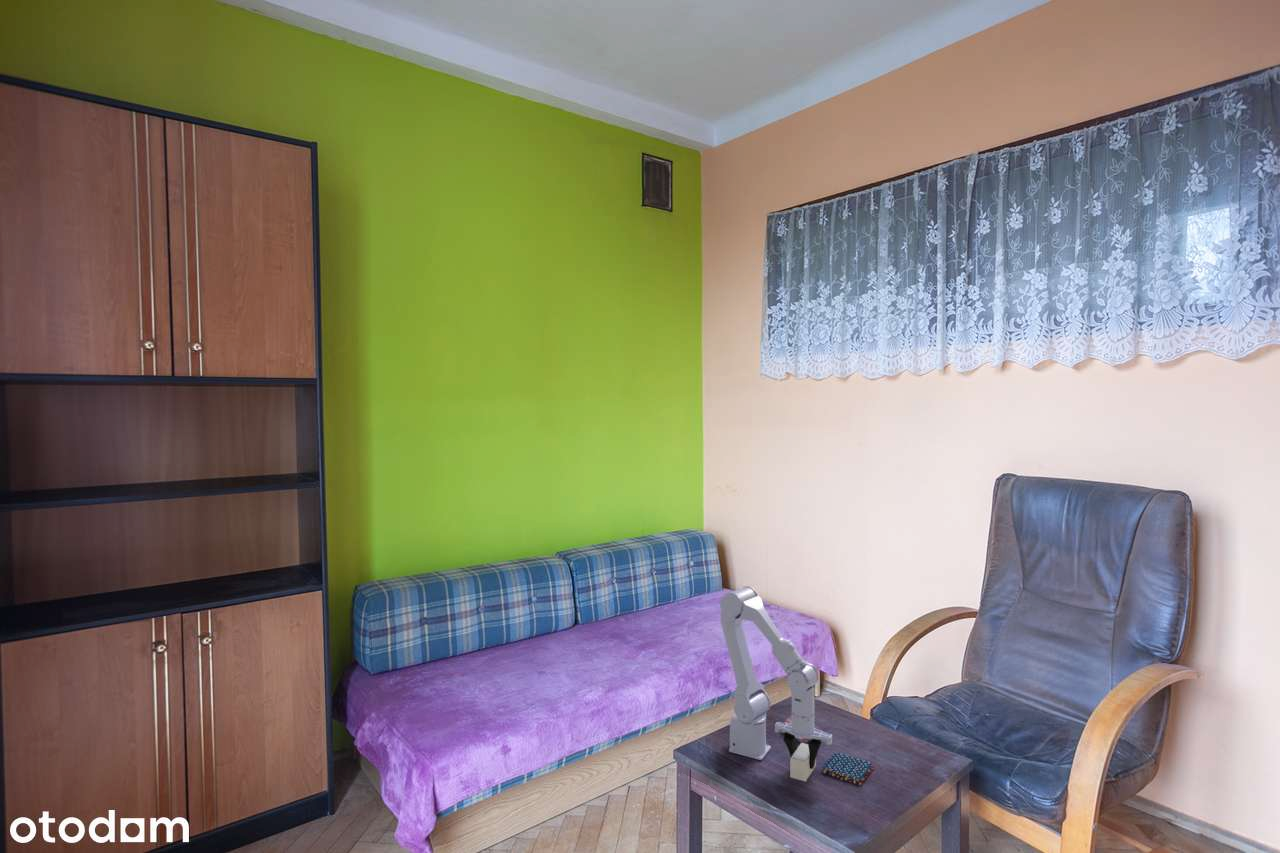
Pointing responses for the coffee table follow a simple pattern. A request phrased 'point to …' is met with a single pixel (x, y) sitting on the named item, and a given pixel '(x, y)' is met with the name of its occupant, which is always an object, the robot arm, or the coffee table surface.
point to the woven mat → (848, 768)
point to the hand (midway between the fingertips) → (803, 764)
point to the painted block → (801, 763)
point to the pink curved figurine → (803, 738)
